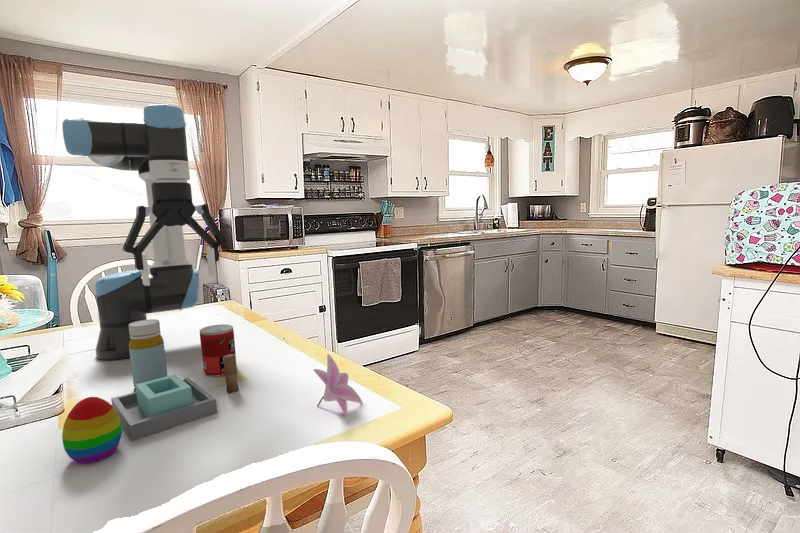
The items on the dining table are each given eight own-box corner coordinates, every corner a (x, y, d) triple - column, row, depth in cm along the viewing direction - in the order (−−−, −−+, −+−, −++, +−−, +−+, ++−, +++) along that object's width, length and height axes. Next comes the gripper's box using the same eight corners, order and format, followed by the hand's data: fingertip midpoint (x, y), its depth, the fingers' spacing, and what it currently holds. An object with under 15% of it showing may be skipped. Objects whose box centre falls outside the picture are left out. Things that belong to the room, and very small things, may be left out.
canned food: (225, 377, 108) (221, 332, 107) (196, 375, 110) (192, 332, 108) (243, 365, 116) (239, 324, 114) (215, 364, 117) (211, 323, 116)
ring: (151, 424, 83) (148, 399, 83) (136, 405, 92) (133, 382, 91) (193, 411, 88) (191, 386, 88) (175, 394, 97) (173, 372, 96)
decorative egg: (52, 466, 72) (44, 407, 71) (97, 440, 80) (90, 386, 79) (94, 471, 70) (86, 410, 69) (135, 444, 78) (129, 389, 77)
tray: (112, 411, 91) (111, 398, 91) (189, 389, 101) (188, 377, 101) (132, 440, 79) (130, 425, 79) (217, 412, 89) (216, 398, 89)
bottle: (174, 380, 107) (168, 319, 105) (150, 392, 100) (142, 327, 98) (152, 378, 109) (145, 318, 107) (126, 389, 103) (118, 325, 101)
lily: (315, 434, 82) (339, 390, 80) (284, 393, 89) (305, 352, 87) (360, 427, 91) (381, 388, 89) (328, 391, 98) (347, 354, 97)
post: (225, 390, 100) (221, 356, 99) (236, 387, 101) (232, 353, 100) (229, 394, 98) (226, 358, 97) (240, 390, 100) (237, 355, 99)
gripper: (104, 181, 84) (118, 291, 87) (235, 181, 100) (243, 274, 104) (98, 182, 90) (111, 286, 93) (223, 182, 106) (230, 271, 109)
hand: (181, 280), depth 98 cm, fingers open, 13 cm apart
